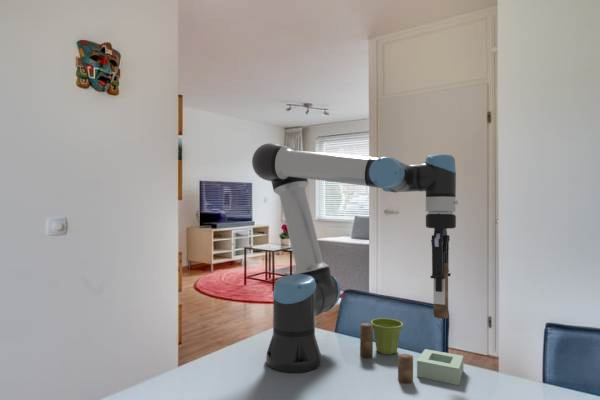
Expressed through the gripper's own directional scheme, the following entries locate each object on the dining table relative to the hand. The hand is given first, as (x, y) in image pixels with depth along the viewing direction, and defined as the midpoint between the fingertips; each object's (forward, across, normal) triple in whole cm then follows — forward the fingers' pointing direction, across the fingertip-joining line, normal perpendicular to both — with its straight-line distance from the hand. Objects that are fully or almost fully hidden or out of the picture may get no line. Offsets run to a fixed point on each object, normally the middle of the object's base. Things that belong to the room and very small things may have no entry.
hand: (440, 302), depth 102 cm
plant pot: (+19, +9, +17) cm, 27 cm away
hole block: (+19, 0, 0) cm, 19 cm away
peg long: (+4, 0, 0) cm, 4 cm away
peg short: (+19, -9, +7) cm, 22 cm away
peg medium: (+18, +2, +21) cm, 28 cm away
